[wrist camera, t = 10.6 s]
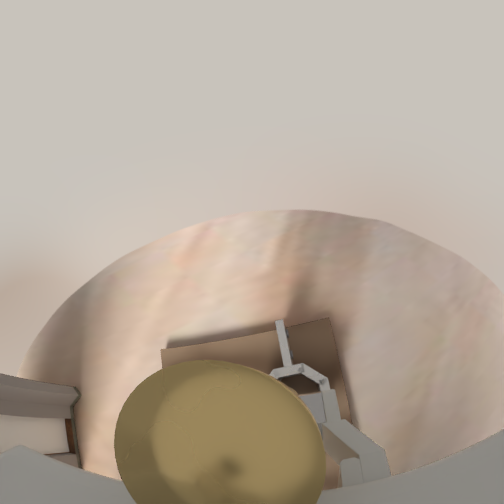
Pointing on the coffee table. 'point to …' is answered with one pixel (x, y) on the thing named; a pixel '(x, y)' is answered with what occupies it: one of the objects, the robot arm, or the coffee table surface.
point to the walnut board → (280, 364)
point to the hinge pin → (218, 438)
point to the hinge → (298, 368)
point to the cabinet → (39, 418)
